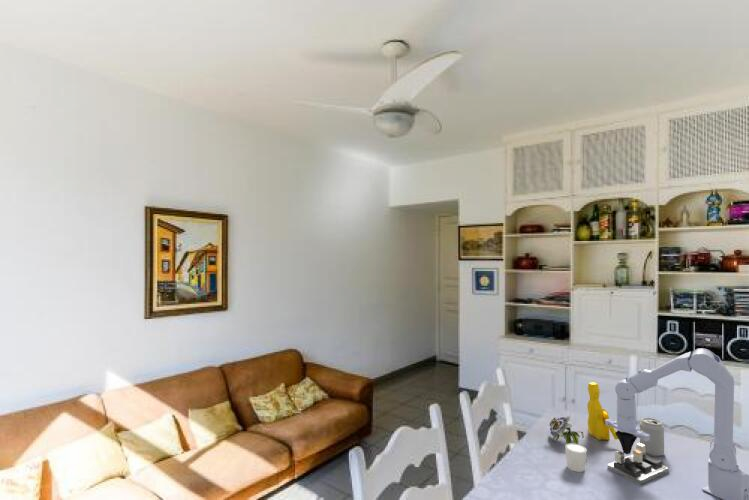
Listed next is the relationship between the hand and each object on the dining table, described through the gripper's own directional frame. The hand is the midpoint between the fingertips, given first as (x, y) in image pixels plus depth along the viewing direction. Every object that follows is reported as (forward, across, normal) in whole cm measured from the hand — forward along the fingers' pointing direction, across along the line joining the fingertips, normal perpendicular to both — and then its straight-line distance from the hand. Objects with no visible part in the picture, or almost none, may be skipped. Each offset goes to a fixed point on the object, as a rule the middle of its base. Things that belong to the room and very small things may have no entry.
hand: (626, 452), depth 142 cm
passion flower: (+5, -22, -4) cm, 23 cm away
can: (+5, -1, +17) cm, 18 cm away
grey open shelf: (+4, +4, 0) cm, 6 cm away
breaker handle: (+1, +4, 0) cm, 4 cm away
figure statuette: (+5, -18, +11) cm, 22 cm away
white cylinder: (+5, -7, -17) cm, 19 cm away
